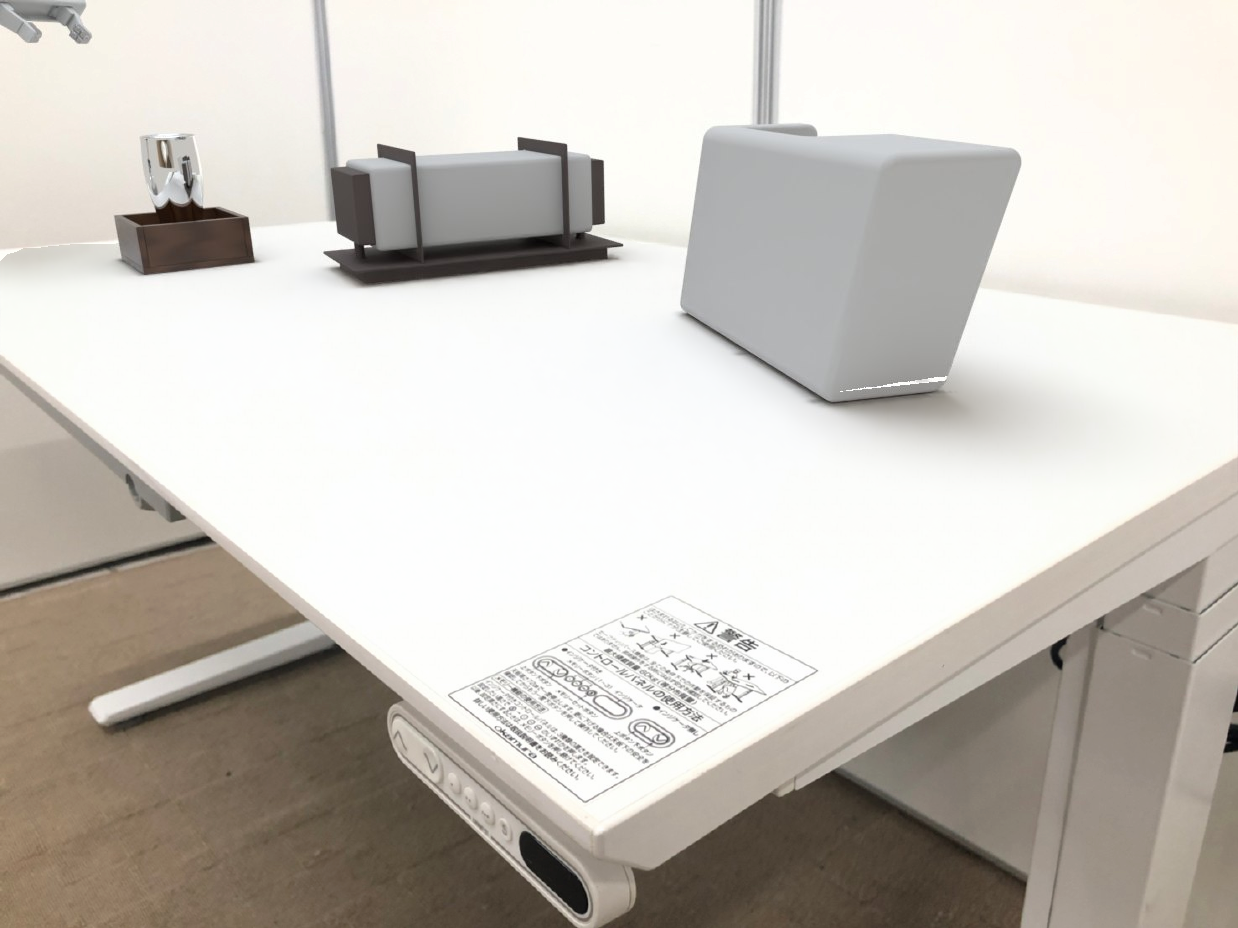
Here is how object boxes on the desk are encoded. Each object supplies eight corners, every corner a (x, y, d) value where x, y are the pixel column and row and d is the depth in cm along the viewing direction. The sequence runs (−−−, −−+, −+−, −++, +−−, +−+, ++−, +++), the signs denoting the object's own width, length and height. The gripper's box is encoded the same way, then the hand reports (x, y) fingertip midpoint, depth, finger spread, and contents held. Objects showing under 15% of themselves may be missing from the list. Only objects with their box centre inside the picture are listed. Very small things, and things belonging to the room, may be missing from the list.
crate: (144, 274, 130) (135, 227, 128) (121, 259, 141) (113, 215, 139) (254, 262, 137) (248, 216, 135) (225, 248, 148) (219, 206, 146)
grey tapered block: (909, 496, 87) (1030, 151, 68) (794, 512, 85) (886, 158, 65) (771, 302, 109) (833, -1, 90) (677, 309, 107) (720, -1, 87)
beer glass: (171, 250, 142) (152, 133, 137) (222, 249, 142) (205, 133, 137) (148, 259, 136) (127, 137, 130) (202, 258, 136) (183, 136, 130)
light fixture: (622, 140, 130) (341, 155, 115) (624, 259, 135) (355, 288, 120) (570, 134, 143) (311, 146, 128) (573, 243, 148) (324, 267, 133)
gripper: (21, -19, 140) (101, 59, 142) (-103, -31, 122) (-9, 59, 123) (44, -57, 138) (125, 22, 140) (-79, -76, 119) (17, 17, 121)
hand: (61, 39), depth 132 cm, fingers open, 8 cm apart
